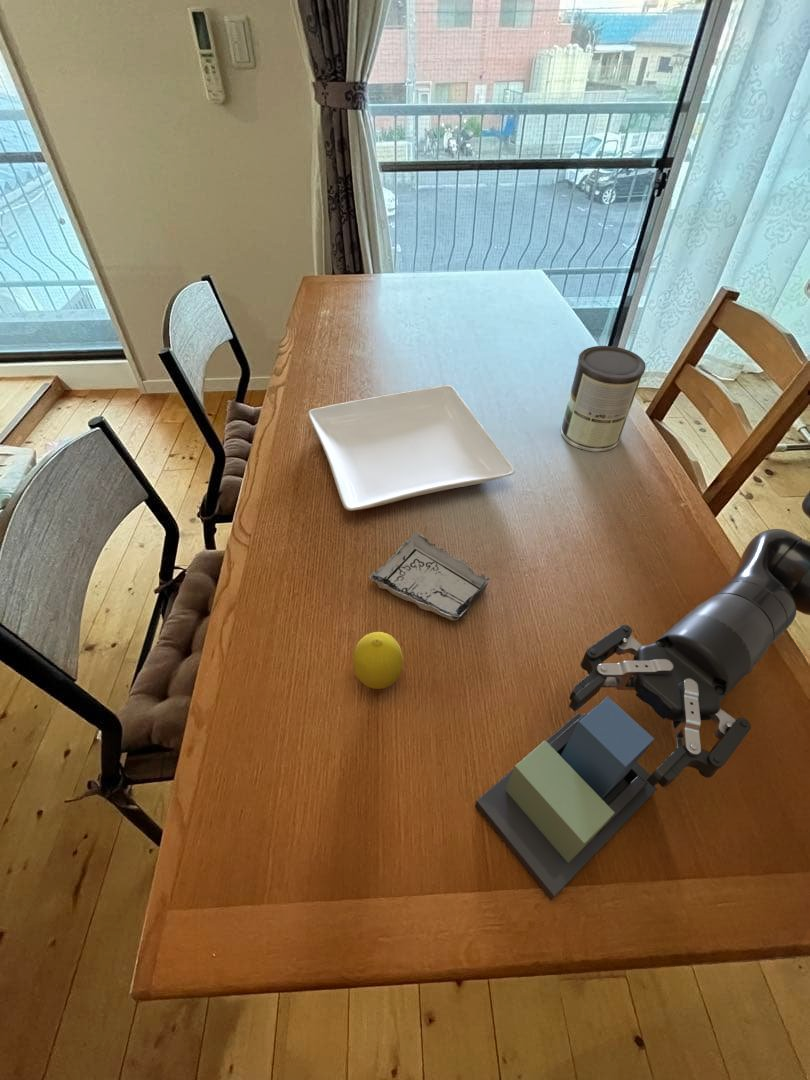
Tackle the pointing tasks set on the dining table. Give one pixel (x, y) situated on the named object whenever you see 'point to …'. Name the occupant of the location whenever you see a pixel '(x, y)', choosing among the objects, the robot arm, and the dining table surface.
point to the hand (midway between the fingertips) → (611, 741)
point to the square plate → (405, 446)
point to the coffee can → (601, 397)
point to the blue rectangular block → (605, 747)
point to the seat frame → (558, 811)
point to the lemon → (377, 660)
